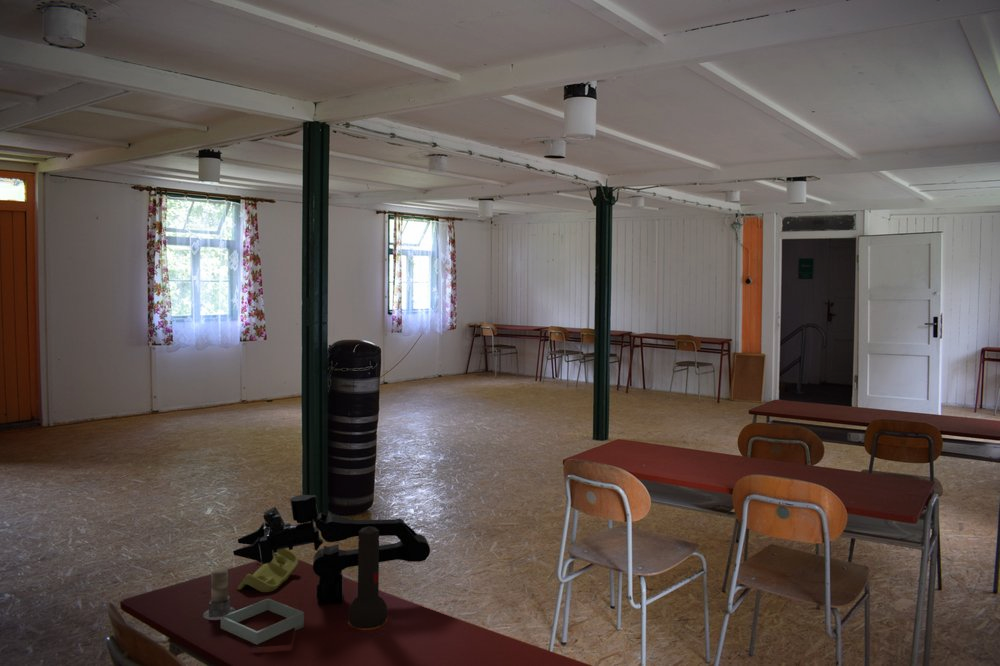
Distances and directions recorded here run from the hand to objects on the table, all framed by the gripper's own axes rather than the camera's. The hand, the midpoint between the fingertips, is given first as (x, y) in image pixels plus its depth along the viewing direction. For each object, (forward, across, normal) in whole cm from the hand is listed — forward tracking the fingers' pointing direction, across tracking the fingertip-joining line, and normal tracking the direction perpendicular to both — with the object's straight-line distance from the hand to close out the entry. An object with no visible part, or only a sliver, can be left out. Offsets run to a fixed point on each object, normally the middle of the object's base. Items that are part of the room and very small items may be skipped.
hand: (235, 546), depth 194 cm
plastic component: (-5, -16, +18) cm, 24 cm away
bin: (-6, +15, +17) cm, 24 cm away
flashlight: (-32, +15, +21) cm, 41 cm away
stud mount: (+6, +6, +16) cm, 18 cm away
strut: (+5, +6, +15) cm, 17 cm away
